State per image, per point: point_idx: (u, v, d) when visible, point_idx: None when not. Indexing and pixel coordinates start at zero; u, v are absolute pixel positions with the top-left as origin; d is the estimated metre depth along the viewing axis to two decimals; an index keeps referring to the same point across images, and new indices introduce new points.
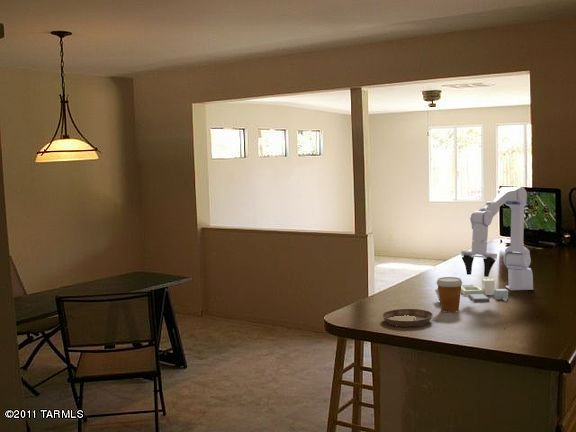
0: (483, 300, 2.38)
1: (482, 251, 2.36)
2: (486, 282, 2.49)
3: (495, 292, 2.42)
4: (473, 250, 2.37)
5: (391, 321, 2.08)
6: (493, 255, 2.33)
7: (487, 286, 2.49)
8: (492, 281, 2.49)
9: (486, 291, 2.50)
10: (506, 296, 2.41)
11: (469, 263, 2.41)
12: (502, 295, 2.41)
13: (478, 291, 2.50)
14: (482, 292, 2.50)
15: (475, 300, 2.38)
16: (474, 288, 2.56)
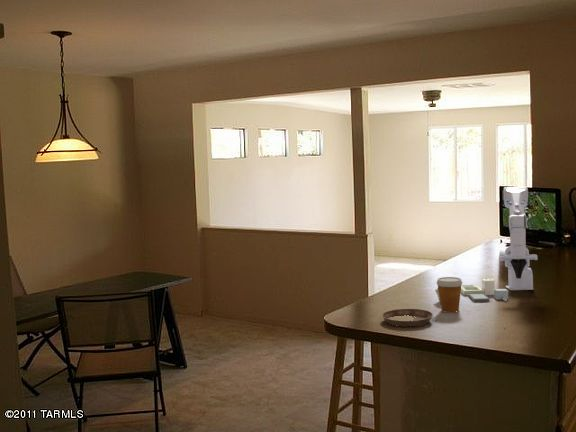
0: (483, 300, 2.38)
1: (525, 254, 2.39)
2: (486, 282, 2.49)
3: (495, 292, 2.42)
4: (518, 254, 2.38)
5: (391, 321, 2.08)
6: (536, 256, 2.39)
7: (487, 286, 2.49)
8: (492, 281, 2.49)
9: (486, 291, 2.50)
10: (506, 296, 2.41)
11: None
12: (502, 295, 2.41)
13: (478, 291, 2.50)
14: (482, 292, 2.50)
15: (475, 300, 2.38)
16: (474, 288, 2.56)
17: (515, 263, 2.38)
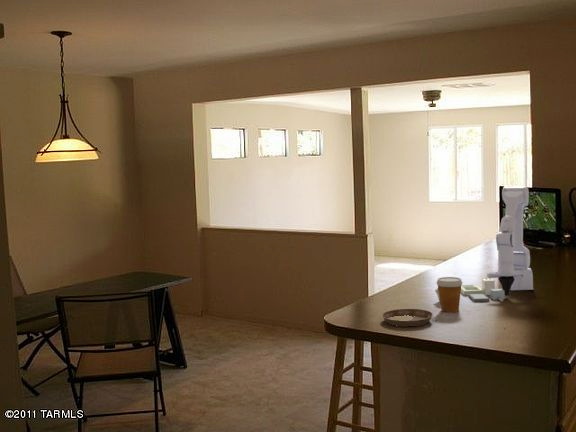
0: (483, 300, 2.38)
1: (513, 271, 2.40)
2: (486, 282, 2.49)
3: (491, 292, 2.42)
4: (506, 272, 2.39)
5: (391, 321, 2.08)
6: (524, 274, 2.40)
7: (487, 286, 2.49)
8: (492, 281, 2.49)
9: (486, 291, 2.50)
10: (502, 296, 2.41)
11: None
12: (498, 295, 2.41)
13: (478, 291, 2.50)
14: (482, 292, 2.50)
15: (475, 300, 2.38)
16: (474, 288, 2.56)
17: (503, 280, 2.39)
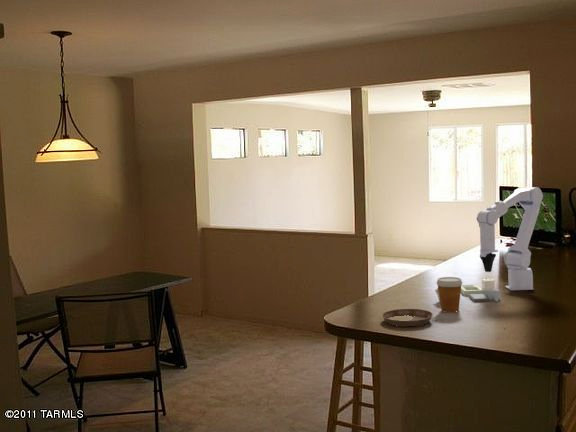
0: (483, 300, 2.38)
1: None
2: (486, 282, 2.49)
3: (486, 292, 2.42)
4: (493, 248, 2.48)
5: (391, 321, 2.08)
6: None
7: (487, 286, 2.49)
8: (492, 281, 2.49)
9: None
10: (497, 296, 2.41)
11: None
12: (493, 295, 2.41)
13: (478, 291, 2.50)
14: (482, 292, 2.50)
15: (475, 300, 2.38)
16: (474, 288, 2.56)
17: (492, 257, 2.47)
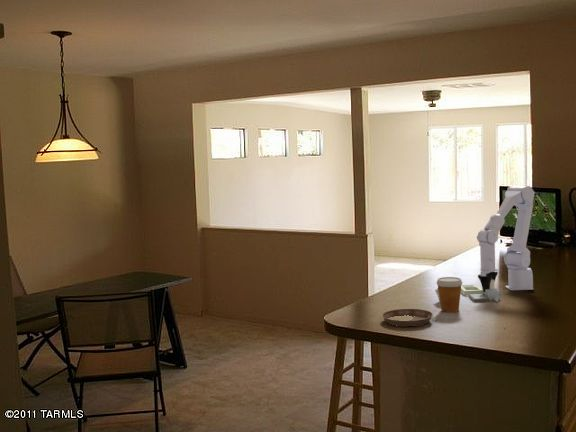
0: (483, 300, 2.38)
1: None
2: None
3: (486, 292, 2.42)
4: (493, 267, 2.48)
5: (391, 321, 2.08)
6: None
7: None
8: (492, 281, 2.49)
9: None
10: (497, 296, 2.41)
11: None
12: (493, 295, 2.41)
13: (478, 291, 2.50)
14: (482, 292, 2.50)
15: (475, 300, 2.38)
16: (474, 288, 2.56)
17: (491, 277, 2.45)
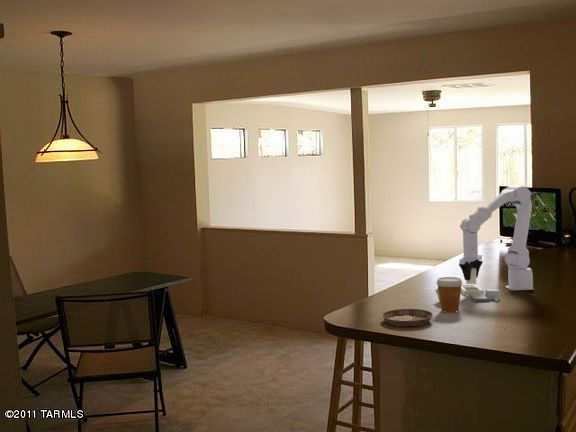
0: (483, 300, 2.38)
1: None
2: None
3: (486, 292, 2.42)
4: (475, 256, 2.50)
5: (391, 321, 2.08)
6: (481, 256, 2.57)
7: None
8: (474, 270, 2.51)
9: (467, 280, 2.52)
10: (497, 296, 2.41)
11: None
12: (493, 295, 2.41)
13: (478, 291, 2.50)
14: (482, 292, 2.50)
15: (475, 300, 2.38)
16: (474, 288, 2.56)
17: (470, 265, 2.48)
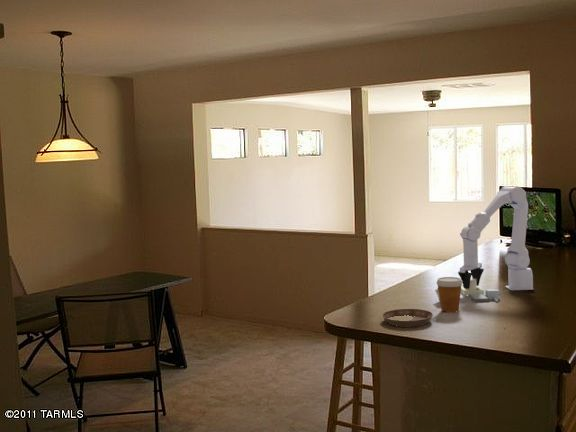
0: (483, 300, 2.38)
1: None
2: None
3: (486, 292, 2.42)
4: (475, 264, 2.50)
5: (391, 321, 2.08)
6: (481, 264, 2.57)
7: None
8: (474, 281, 2.51)
9: None
10: (497, 296, 2.41)
11: None
12: (493, 295, 2.41)
13: (478, 291, 2.50)
14: (482, 292, 2.50)
15: (475, 300, 2.38)
16: None
17: (469, 274, 2.48)
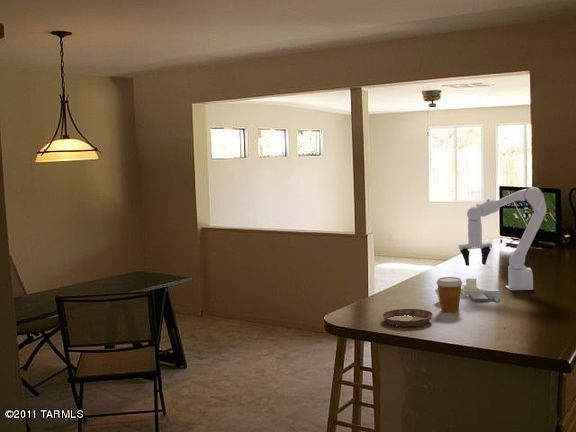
0: (483, 300, 2.38)
1: (481, 243, 2.63)
2: (467, 281, 2.52)
3: (486, 292, 2.42)
4: (475, 243, 2.61)
5: (391, 321, 2.09)
6: (491, 245, 2.64)
7: (468, 285, 2.52)
8: (474, 281, 2.51)
9: None
10: (497, 296, 2.41)
11: None
12: (493, 295, 2.41)
13: (478, 291, 2.50)
14: (482, 292, 2.50)
15: (475, 300, 2.38)
16: None
17: (465, 252, 2.61)
